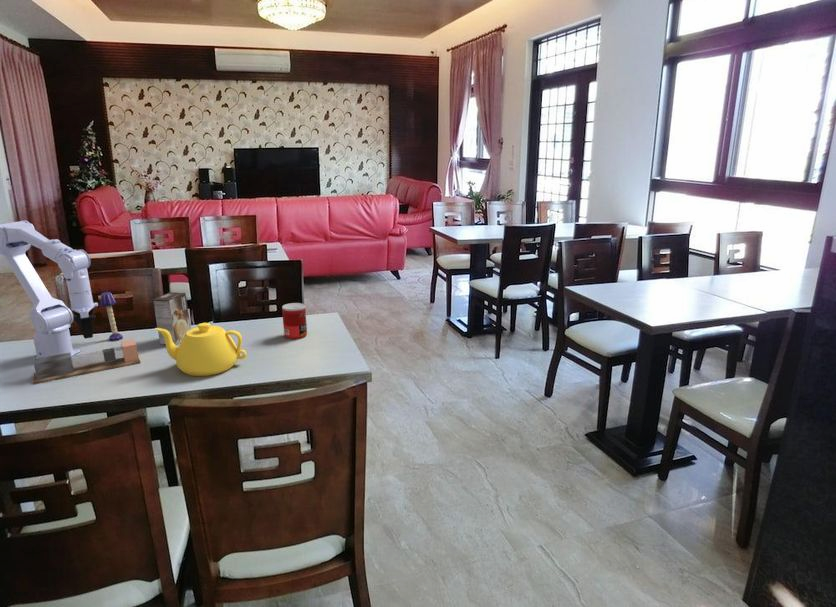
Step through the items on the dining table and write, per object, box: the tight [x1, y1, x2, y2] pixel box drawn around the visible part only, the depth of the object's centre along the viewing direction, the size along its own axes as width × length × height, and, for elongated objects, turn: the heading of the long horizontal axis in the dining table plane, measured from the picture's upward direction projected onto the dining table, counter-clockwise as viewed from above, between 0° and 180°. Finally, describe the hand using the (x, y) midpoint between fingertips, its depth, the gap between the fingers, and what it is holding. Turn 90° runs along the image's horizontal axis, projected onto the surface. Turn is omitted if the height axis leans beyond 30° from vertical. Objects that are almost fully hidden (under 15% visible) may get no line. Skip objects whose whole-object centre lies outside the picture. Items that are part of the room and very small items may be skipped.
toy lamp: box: [100, 291, 124, 341], centre depth 186 cm, size 5×5×17 cm
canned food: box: [281, 302, 308, 340], centre depth 189 cm, size 8×8×11 cm
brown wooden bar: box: [32, 353, 141, 385], centre depth 163 cm, size 28×8×5 cm, turn 123°
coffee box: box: [152, 291, 192, 346], centre depth 184 cm, size 9×6×16 cm
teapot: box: [154, 322, 248, 377], centre depth 163 cm, size 25×18×14 cm
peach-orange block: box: [120, 339, 140, 363], centre depth 169 cm, size 4×5×5 cm
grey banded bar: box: [71, 346, 124, 367], centre depth 165 cm, size 19×3×3 cm, turn 123°
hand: (87, 334), depth 166 cm, fingers open, 7 cm apart
